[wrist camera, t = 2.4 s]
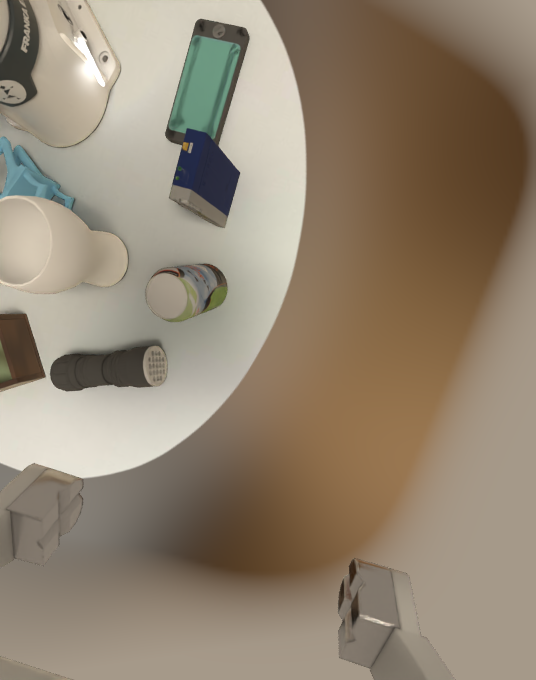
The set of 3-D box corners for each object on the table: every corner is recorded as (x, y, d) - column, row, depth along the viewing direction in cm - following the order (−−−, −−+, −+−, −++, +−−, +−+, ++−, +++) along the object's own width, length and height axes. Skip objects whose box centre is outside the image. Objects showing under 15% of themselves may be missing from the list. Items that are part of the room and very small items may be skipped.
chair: (33, 153, 57) (91, 202, 56) (3, 199, 58) (59, 248, 57) (-13, 126, 50) (52, 182, 48) (-47, 179, 51) (16, 236, 49)
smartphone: (248, 27, 47) (212, 150, 49) (251, 34, 49) (215, 154, 51) (194, 16, 49) (161, 136, 51) (198, 23, 50) (166, 140, 52)
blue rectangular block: (224, 168, 51) (185, 125, 39) (240, 172, 50) (206, 130, 38) (208, 223, 52) (166, 198, 40) (224, 228, 51) (186, 204, 40)
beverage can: (231, 265, 51) (194, 252, 40) (229, 321, 52) (192, 324, 40) (187, 264, 53) (139, 251, 41) (185, 318, 53) (138, 321, 42)
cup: (151, 249, 53) (74, 227, 39) (112, 312, 56) (26, 312, 41) (95, 207, 55) (1, 169, 40) (59, 269, 57) (-43, 254, 42)
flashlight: (76, 388, 58) (48, 396, 53) (71, 353, 58) (42, 357, 53) (169, 382, 55) (149, 389, 49) (164, 343, 54) (144, 347, 49)
